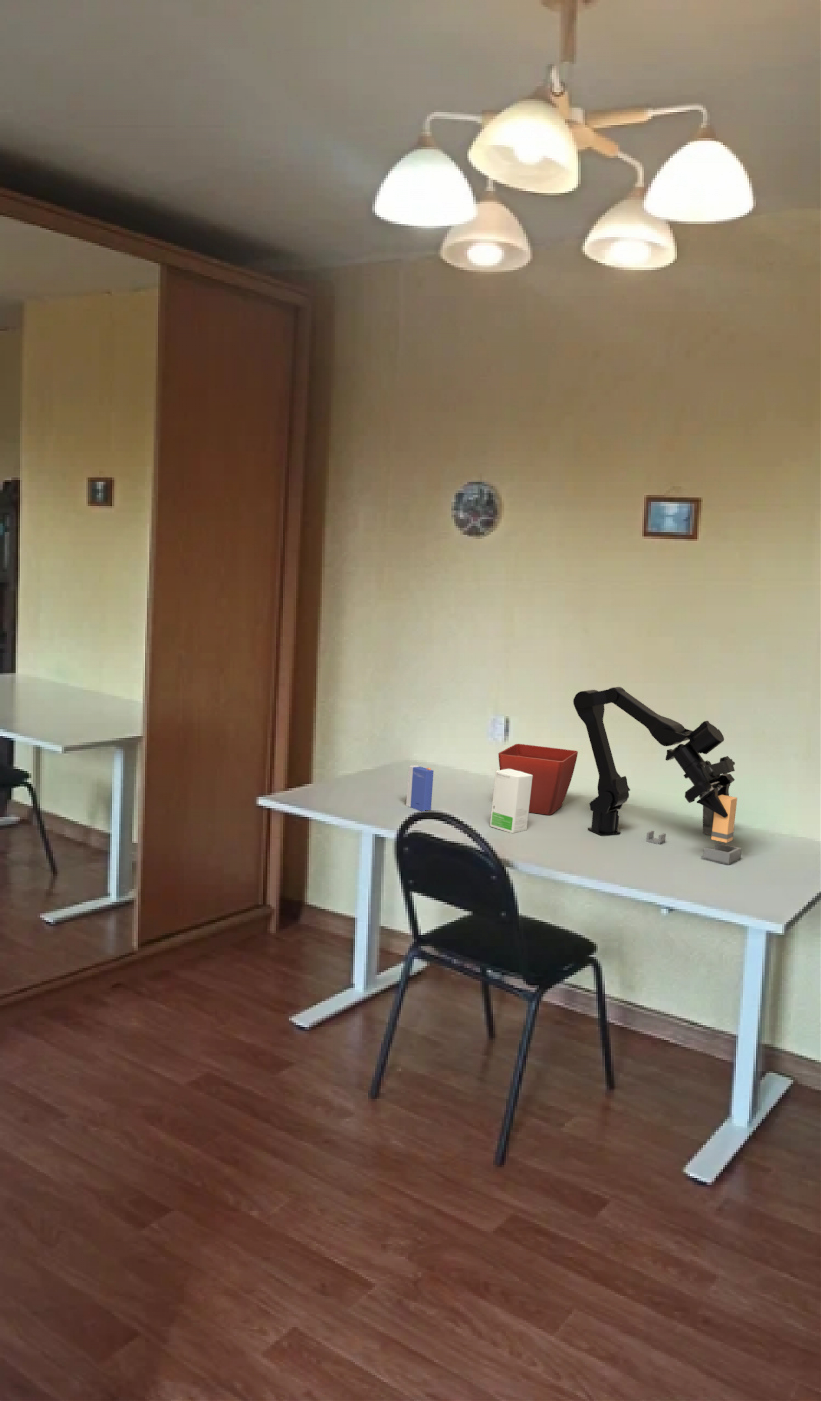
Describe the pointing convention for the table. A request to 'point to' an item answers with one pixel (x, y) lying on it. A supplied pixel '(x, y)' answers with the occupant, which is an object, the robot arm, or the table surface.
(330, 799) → the table surface
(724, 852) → the holder
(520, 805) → the skincare box
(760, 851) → the table surface
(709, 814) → the beverage cup
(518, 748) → the plant pot
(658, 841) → the clip
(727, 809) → the plug
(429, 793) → the walkman
